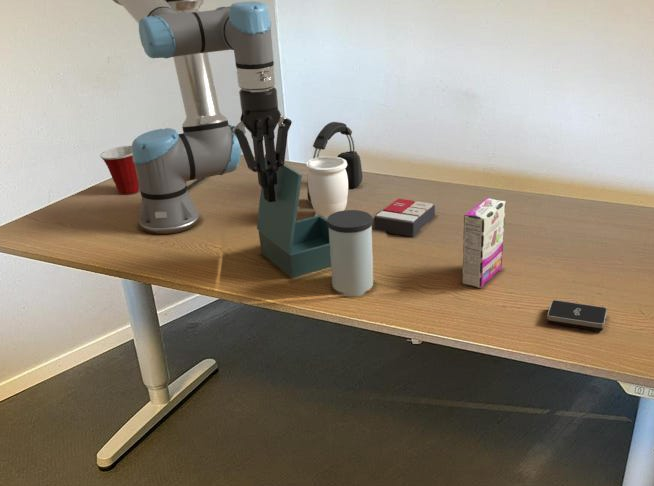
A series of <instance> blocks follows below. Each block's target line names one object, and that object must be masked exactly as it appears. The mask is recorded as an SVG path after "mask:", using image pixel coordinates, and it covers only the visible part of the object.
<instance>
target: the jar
mask: <svg viewBox="0 0 654 486" xmlns="http://www.w3.org/2000/svg"><path fill="white" fill-rule="evenodd" d="M346 167H347V161H346V160H345V159H343V158H339V157H337V156H320V157H318V158H317V157H315V158H314V159H313V158H311V159H310V160H308V161H307V162H306V168H307V170H308V173H309V174H308V173H307V190H308V189H309V194H310V198H311V203H310V204H311V206H312V208H313V210H314V211H313V212H315V214H314V217H315V216H319V215H321V216H323V217H324V218H326V219H327V218H328V217H329V216H330V215H331V214H333V213H335V212H339V211H344V210H346V207H347V205H348V204H347V203H348V195H349V188H348V177H347V172H346V169H345V168H346Z"/></svg>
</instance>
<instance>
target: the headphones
mask: <svg viewBox="0 0 654 486" xmlns="http://www.w3.org/2000/svg"><path fill="white" fill-rule="evenodd" d="M337 133H340V134H341V135H345V136H346V138H347V140H348V144H349V151H343V152H341V153H340V154H338V155H337V156H336V157H339V158H343V159H345V160H346V161H347V167H346V168H345V169H346V172H347V177H348V189H349V188H350V189H356V188H358V187H360V185H361V184H362V183H363V169H362V162H361V161H362V160H361V157H360V155H359V154H358V153H357V151H356V148H355V141H354V138H353V137H352V134H353V131H352V129H351V128H349V127H348V126H347V124H346V123H344V122H339V121H330V122H329V123H327V124H326V125H324V127H322V129H321V130H320V131H319V133H318V135H317V136H316V137H315V140H314V142H313V145H312V148H314V153H313V157H312V159H314V158H319V156H320V153H321V151H322V150H326V147H327V144H328V142H329V141H330V139H331V138H333V136H335V134H337ZM308 174H309V172H308V173H307V175H308ZM306 192H307V201H308V202H309V203H310V204H312V203H311V198H310V194H309V189H308V188H307V191H306Z"/></svg>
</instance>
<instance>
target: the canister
mask: <svg viewBox="0 0 654 486" xmlns="http://www.w3.org/2000/svg"><path fill="white" fill-rule="evenodd" d="M327 225H328V227H329V242H330V257H331V267H330V273H331V285H332V288H333V289H334V290H335V291H337V292H339V293H338V295H340V296H342V297H350V298H351V297H352V298H353V297H361V296H365V295H366V294H369V293H370V292H371V290H370V289H372V287H373V286H374V263H373V262H374V260H373V230H372V229H373V227H372V226H373V216H372V215H371V214H370V213H369V212H366V211H363V210H357V209H345V210H344V211H339V212H335V213H333V214H331V215H330V216H329V217H328V218H327Z"/></svg>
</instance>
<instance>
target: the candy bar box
mask: <svg viewBox="0 0 654 486" xmlns="http://www.w3.org/2000/svg"><path fill="white" fill-rule="evenodd" d="M506 202H507V201H506V200H502V199H496V198H492V197H485V198H484V199H482V201H480V202H478V204H476V205H475V206H474V207H472V208H471V209H470V210H468V211H467V212H466V213H464V215H463V238H462V239H463V242H462V245H463V246H462V247H463V248H462V275H461V277H462V278H461V279H462V281H461V283H462V284H463V285H466V286H469V287H473V288H474V287H475V288H478V289H482V288H483V287H484V286H485V285H487V284H488V282H489V281H490V280H491V279H492V278H493V277H495V275H496V274H498V273H499V272H500V271H501V270H503V269H502V268H503V250H504V235H505V220H506V219H505V218H506V205H507V204H506Z"/></svg>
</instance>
